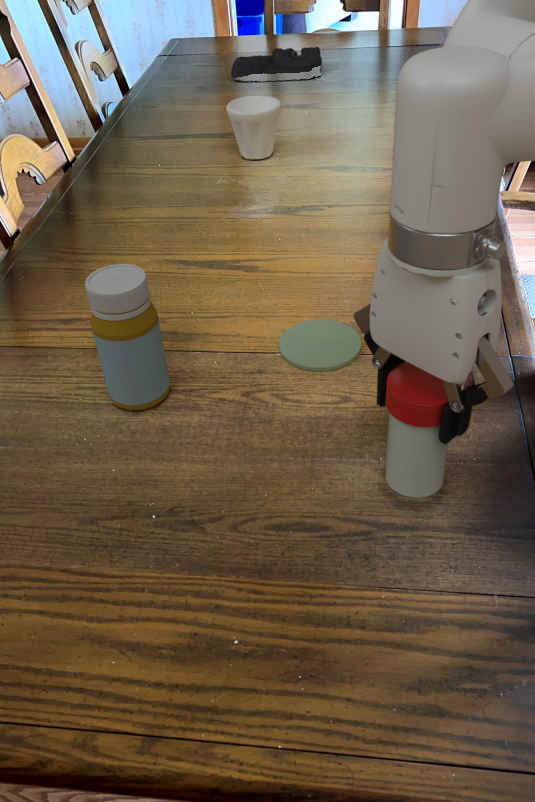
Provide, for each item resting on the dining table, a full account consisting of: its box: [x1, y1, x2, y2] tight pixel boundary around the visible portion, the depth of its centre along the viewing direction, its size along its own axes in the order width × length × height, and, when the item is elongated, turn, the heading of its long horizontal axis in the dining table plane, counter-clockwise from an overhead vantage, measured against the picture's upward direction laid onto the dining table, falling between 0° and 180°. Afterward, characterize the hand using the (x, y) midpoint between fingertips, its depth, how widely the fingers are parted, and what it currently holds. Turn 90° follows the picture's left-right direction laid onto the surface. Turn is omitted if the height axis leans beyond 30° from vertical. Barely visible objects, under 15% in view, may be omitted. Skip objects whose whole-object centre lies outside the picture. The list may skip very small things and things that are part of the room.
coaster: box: [278, 318, 363, 372], centre depth 86 cm, size 10×10×1 cm
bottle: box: [84, 263, 171, 412], centre depth 77 cm, size 7×7×15 cm
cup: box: [225, 95, 282, 159], centre depth 132 cm, size 10×10×9 cm
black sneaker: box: [231, 46, 323, 78], centre depth 173 cm, size 15×22×5 cm
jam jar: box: [384, 412, 450, 499], centre depth 66 cm, size 6×6×11 cm
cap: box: [385, 361, 463, 427], centre depth 63 cm, size 6×6×2 cm
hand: (420, 415), depth 64 cm, fingers closed on cap, 6 cm apart
